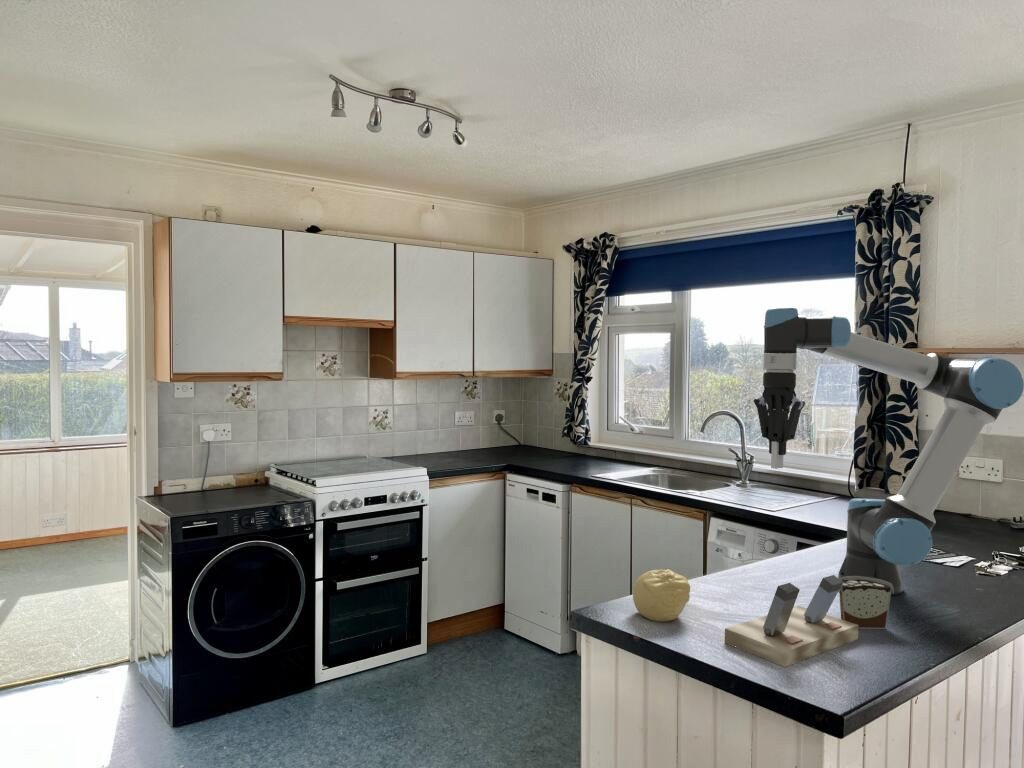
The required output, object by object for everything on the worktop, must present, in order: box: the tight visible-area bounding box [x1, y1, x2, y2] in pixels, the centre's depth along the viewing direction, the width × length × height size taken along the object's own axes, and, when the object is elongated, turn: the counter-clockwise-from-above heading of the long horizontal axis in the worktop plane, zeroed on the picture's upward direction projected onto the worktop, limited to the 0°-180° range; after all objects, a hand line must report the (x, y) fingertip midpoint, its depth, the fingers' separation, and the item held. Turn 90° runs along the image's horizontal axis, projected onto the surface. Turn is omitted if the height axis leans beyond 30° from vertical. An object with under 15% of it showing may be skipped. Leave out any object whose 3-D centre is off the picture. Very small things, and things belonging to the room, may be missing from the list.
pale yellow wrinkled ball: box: [632, 568, 691, 622], centre depth 165 cm, size 12×12×11 cm
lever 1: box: [763, 582, 800, 636], centre depth 147 cm, size 4×2×11 cm, turn 126°
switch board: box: [724, 605, 859, 668], centre depth 152 cm, size 26×14×3 cm, turn 126°
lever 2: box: [804, 574, 843, 623], centre depth 154 cm, size 4×2×11 cm, turn 126°
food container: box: [838, 576, 894, 630], centre depth 163 cm, size 12×6×10 cm, turn 92°
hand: (777, 467), depth 179 cm, fingers closed
